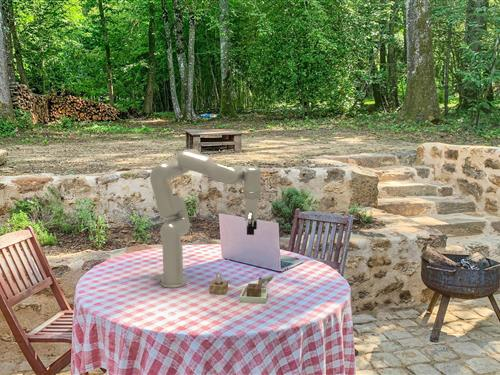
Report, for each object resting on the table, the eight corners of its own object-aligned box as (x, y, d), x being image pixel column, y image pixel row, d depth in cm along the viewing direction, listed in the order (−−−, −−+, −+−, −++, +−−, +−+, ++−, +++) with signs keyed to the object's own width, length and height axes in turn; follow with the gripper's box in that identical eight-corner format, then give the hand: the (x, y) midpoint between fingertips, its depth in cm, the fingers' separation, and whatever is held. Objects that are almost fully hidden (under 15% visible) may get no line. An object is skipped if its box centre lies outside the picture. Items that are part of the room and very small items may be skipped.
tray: (239, 302, 220) (239, 296, 220) (243, 292, 232) (243, 287, 231) (265, 303, 219) (265, 298, 219) (268, 293, 230) (268, 288, 230)
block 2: (246, 298, 223) (246, 288, 222) (248, 293, 229) (248, 283, 228) (259, 299, 222) (259, 288, 221) (261, 294, 228) (261, 284, 227)
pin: (215, 292, 232) (215, 275, 231) (216, 290, 235) (216, 273, 234) (221, 292, 232) (220, 275, 231) (221, 290, 235) (221, 274, 233)
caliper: (260, 291, 234) (260, 278, 233) (257, 290, 235) (257, 278, 234) (273, 277, 253) (274, 265, 252) (271, 277, 254) (272, 265, 253)
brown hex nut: (209, 293, 230) (209, 285, 230) (212, 288, 238) (212, 280, 237) (225, 294, 229) (225, 286, 229) (228, 288, 237) (227, 280, 236)
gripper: (246, 191, 231) (246, 226, 233) (241, 198, 214) (240, 236, 217) (262, 191, 230) (262, 227, 232) (258, 198, 213) (257, 237, 216)
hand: (251, 231), depth 225 cm, fingers open, 9 cm apart
